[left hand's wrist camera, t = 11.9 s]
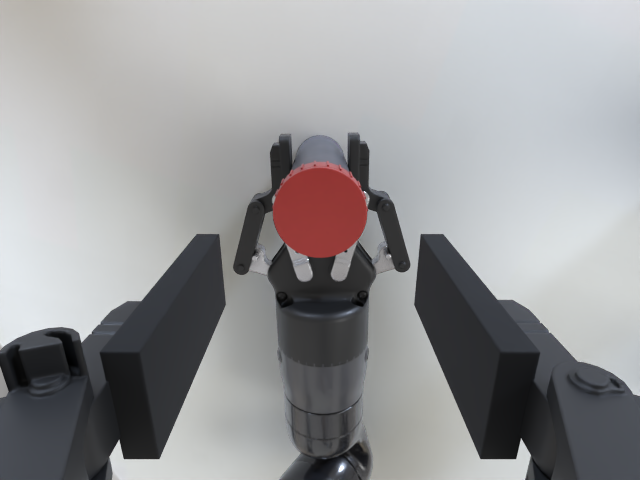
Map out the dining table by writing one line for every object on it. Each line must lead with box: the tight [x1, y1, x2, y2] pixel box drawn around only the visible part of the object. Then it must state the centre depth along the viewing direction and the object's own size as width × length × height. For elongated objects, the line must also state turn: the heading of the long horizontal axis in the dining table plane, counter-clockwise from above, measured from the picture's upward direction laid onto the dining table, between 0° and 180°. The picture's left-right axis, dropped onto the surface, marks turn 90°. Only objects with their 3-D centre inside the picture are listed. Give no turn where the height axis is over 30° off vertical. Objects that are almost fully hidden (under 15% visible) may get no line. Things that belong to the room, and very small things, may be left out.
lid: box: [272, 161, 368, 258], centre depth 21 cm, size 5×5×2 cm
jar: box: [291, 136, 349, 172], centre depth 28 cm, size 4×4×16 cm
